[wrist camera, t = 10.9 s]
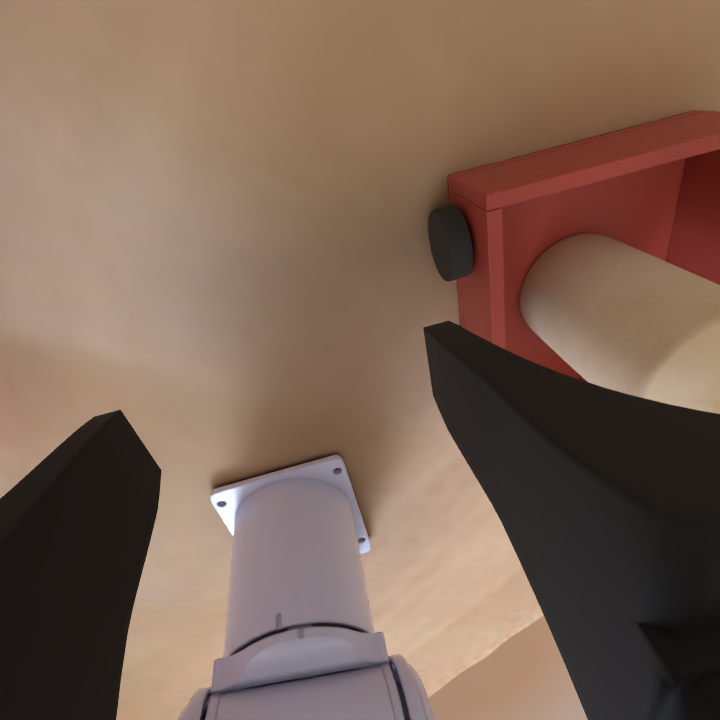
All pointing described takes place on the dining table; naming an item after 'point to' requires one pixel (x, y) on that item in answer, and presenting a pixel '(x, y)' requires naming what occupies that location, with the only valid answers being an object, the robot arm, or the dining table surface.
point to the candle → (627, 320)
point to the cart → (587, 215)
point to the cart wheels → (450, 243)
